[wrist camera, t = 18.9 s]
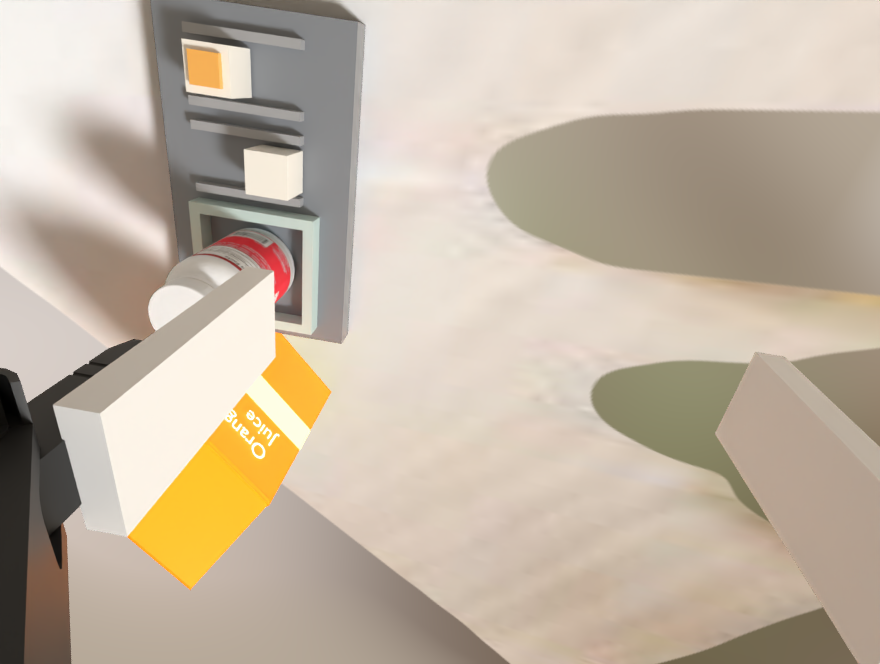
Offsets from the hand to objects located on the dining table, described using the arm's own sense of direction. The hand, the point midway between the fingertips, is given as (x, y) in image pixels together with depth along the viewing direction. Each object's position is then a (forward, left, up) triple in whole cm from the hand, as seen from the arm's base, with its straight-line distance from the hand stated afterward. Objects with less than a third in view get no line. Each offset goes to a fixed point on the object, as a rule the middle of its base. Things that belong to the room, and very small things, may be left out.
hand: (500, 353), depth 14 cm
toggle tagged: (-5, -20, -25) cm, 32 cm away
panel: (+3, -18, -27) cm, 32 cm away
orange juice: (+21, -18, -27) cm, 39 cm away
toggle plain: (+1, -16, -25) cm, 29 cm away
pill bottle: (+9, -18, -25) cm, 32 cm away
